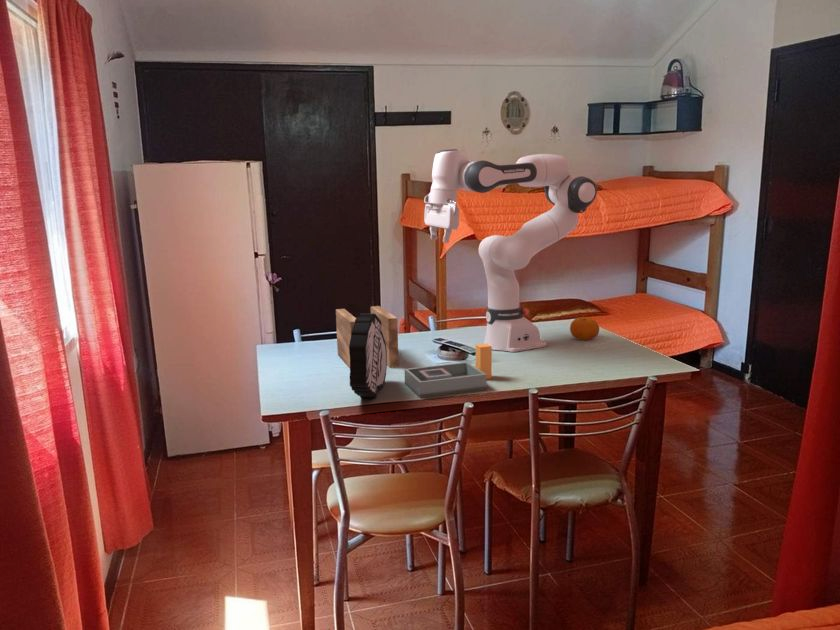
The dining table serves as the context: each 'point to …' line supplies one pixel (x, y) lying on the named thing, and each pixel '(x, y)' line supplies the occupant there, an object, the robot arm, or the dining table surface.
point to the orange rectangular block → (484, 358)
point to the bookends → (387, 327)
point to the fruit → (584, 328)
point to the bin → (447, 380)
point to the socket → (434, 374)
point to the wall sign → (367, 356)
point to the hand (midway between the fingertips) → (439, 241)
